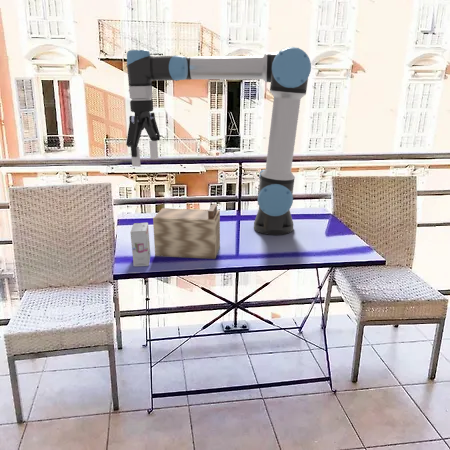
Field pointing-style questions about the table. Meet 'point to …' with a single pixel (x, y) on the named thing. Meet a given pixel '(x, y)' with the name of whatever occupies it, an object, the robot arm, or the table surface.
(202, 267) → the table surface
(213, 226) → the box
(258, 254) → the table surface
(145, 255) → the ink box
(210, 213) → the lid
